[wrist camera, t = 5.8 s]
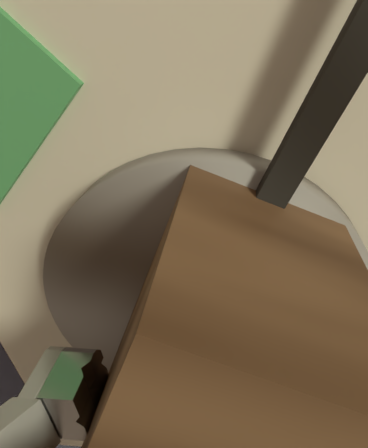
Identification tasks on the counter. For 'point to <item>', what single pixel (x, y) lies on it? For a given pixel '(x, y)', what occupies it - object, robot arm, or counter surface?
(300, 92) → the board
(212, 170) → the brown knob on disc
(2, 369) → the counter surface
